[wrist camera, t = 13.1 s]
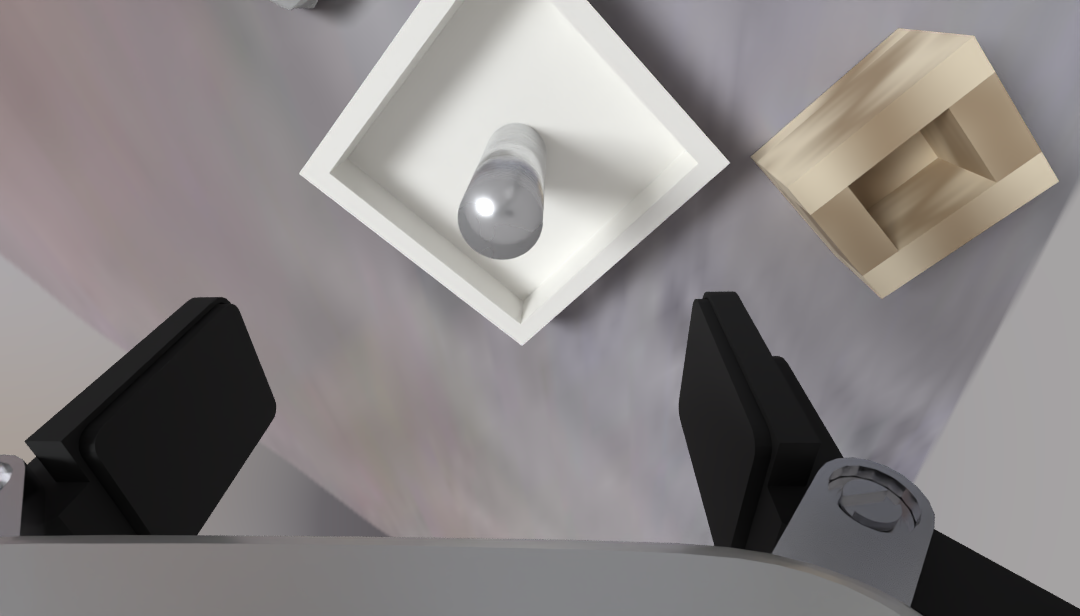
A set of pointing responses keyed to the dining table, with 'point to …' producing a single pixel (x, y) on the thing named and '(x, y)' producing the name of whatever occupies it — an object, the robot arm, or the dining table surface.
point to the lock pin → (506, 194)
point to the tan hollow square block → (907, 157)
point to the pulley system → (295, 3)
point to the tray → (484, 106)
